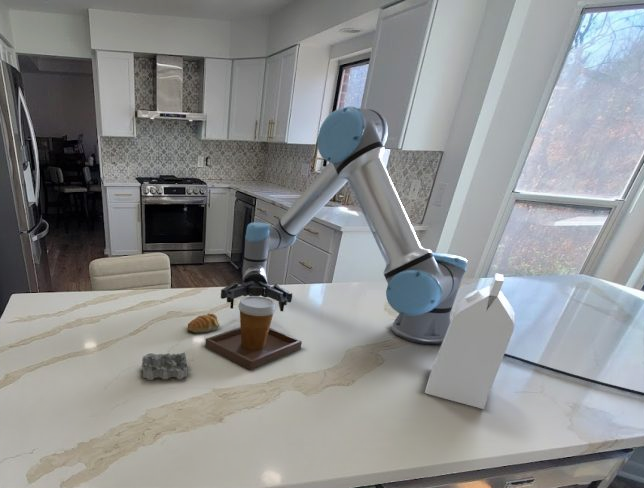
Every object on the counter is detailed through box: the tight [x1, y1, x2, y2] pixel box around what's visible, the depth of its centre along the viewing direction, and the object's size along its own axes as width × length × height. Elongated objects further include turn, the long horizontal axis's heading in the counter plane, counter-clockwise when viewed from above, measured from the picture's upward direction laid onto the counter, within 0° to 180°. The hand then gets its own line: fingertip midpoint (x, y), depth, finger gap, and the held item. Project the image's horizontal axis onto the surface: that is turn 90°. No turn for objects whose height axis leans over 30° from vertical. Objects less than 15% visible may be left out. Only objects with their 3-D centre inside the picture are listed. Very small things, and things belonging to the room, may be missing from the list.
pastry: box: [186, 313, 221, 334], centre depth 124 cm, size 9×7×4 cm
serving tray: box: [204, 326, 303, 371], centre depth 114 cm, size 17×20×2 cm
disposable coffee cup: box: [237, 295, 277, 350], centre depth 111 cm, size 10×10×12 cm
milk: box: [424, 273, 516, 410], centre depth 92 cm, size 12×12×26 cm
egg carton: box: [141, 352, 189, 381], centre depth 100 cm, size 11×8×4 cm
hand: (257, 305), depth 116 cm, fingers open, 13 cm apart
